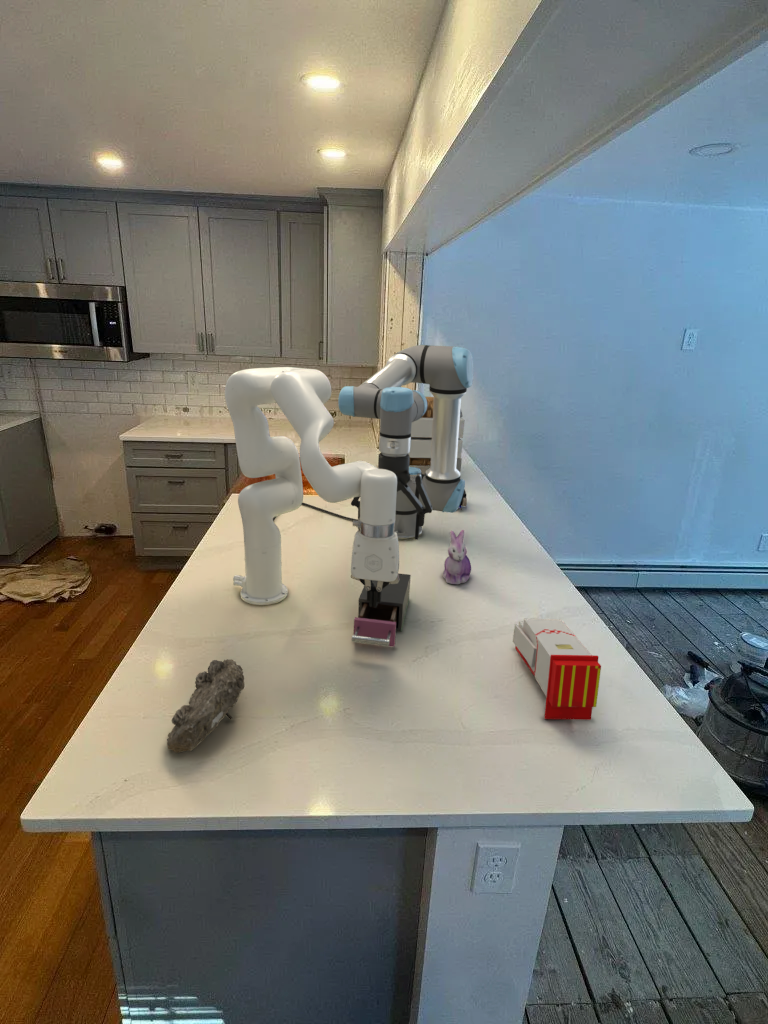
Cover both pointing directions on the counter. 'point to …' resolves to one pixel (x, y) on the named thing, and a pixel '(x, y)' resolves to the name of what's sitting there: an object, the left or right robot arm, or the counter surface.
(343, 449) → the counter surface
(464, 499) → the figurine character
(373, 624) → the drawer
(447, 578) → the figurine
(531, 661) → the toy
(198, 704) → the fossil
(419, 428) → the white slatted crate
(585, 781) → the counter surface
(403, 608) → the cabinet
